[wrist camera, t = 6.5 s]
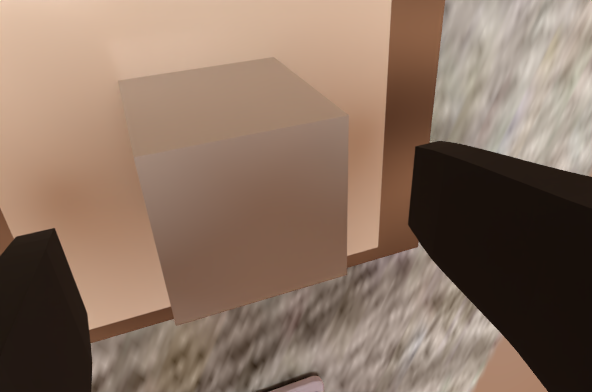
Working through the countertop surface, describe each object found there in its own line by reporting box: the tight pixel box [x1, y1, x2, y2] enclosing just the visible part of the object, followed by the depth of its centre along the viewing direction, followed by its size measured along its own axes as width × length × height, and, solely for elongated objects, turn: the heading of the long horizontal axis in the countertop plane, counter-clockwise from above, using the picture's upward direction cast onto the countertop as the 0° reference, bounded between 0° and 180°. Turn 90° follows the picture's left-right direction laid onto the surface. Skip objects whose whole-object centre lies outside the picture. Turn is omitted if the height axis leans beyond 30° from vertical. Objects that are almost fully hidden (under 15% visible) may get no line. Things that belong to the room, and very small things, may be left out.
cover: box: [0, 0, 392, 330], centre depth 12 cm, size 11×11×6 cm
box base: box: [0, 0, 445, 343], centre depth 13 cm, size 14×24×4 cm, turn 93°
